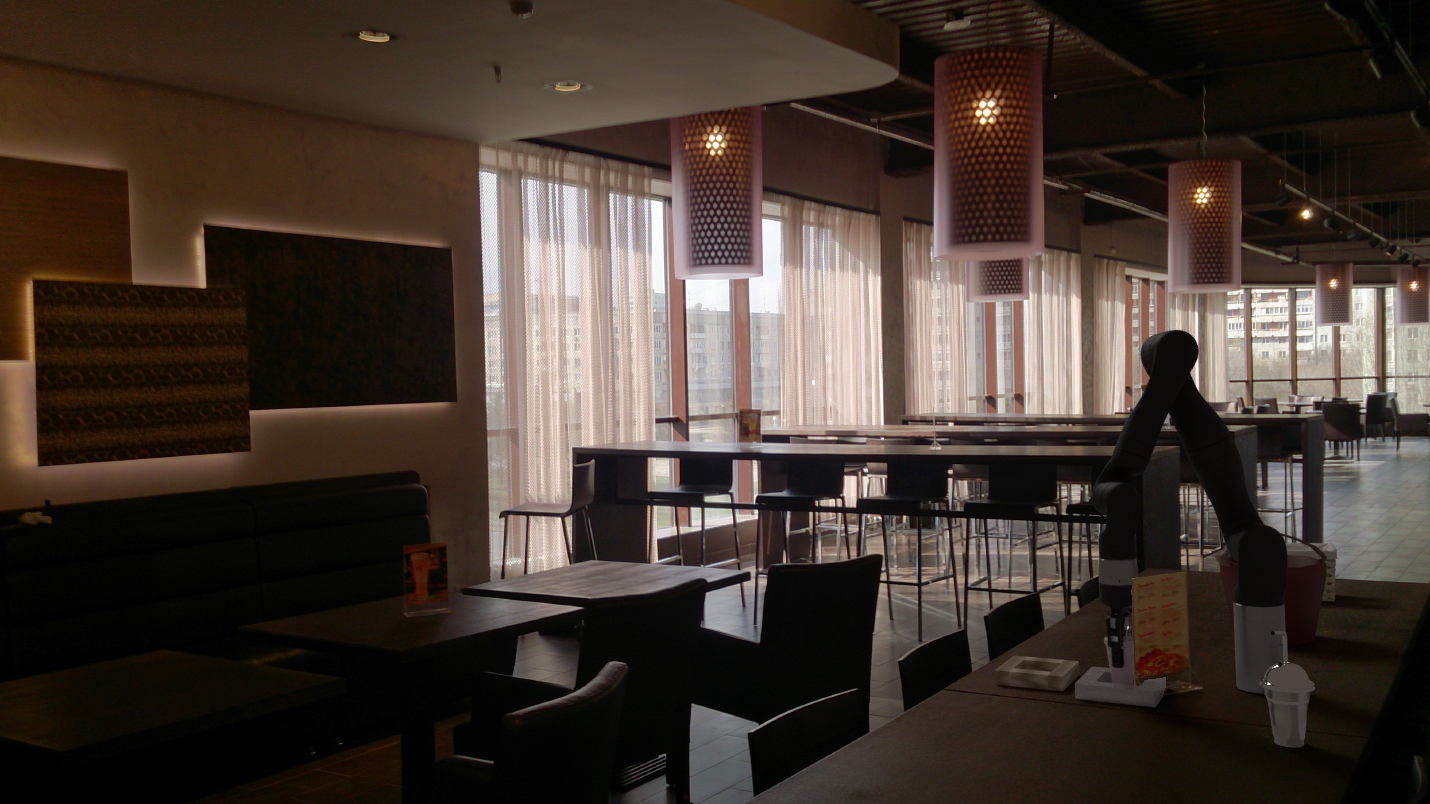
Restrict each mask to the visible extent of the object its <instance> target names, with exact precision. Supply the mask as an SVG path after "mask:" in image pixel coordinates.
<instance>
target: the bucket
mask: <svg viewBox="0 0 1430 804" xmlns="http://www.w3.org/2000/svg"><path fill="white" fill-rule="evenodd" d="M1280 533H1281V532H1280ZM1281 534H1282V536H1283V538H1286V539H1287V538H1288V539H1291V540H1294V541H1296V542H1297V543H1302V544H1305V545H1307V546H1309V547H1311V548H1312V549H1313V550H1314V551H1315V552H1316V553H1317V554H1318V555H1319V556H1320V558H1319V559H1315V558H1312V557H1309V556H1296V555H1287V562H1288V573H1287V590H1286V593H1285V596H1284V607H1285V632H1286V635H1287V646H1300V645H1303V644H1307V643H1312V642H1315V640H1316V635H1317V631H1318V630H1317V629H1318V624H1319V619H1320V615H1321V613H1320V612H1321V608H1322V602H1323V601H1322V598H1323V593H1324V587H1325V582H1326V576H1327V572H1326V563H1325V561H1326V559H1327V556H1326V555H1325V554H1324V553H1323V552H1322V551H1321V550H1320V549H1319V548H1317V547H1316V546H1315V545H1312V544H1310V543H1311V542H1307V541H1305V540H1304V539H1301V538H1297V537H1295V536H1291V535H1289V534H1286V533H1283V532H1282V533H1281ZM1224 544H1225V543H1224ZM1214 558H1215V559H1216V561H1217V563H1218V564H1219V574H1220V578H1221V579H1220V580H1221V582H1222V583H1221V584H1222V587H1223V592H1224V595H1225V599H1226V602H1227V608H1228V611H1229V616H1230V620H1231V624H1232V628H1233V629H1234V608H1233V602H1234V601H1233V589H1234V588H1235V587H1236V586H1237V583H1238V562H1237V561H1236V560H1234V559H1233V557H1232V556H1231V555H1230V553H1229V551H1228V549H1227V547H1226V544H1225V545H1224V546H1223V549H1221V550H1218V552H1217V553H1215V554H1214Z"/></svg>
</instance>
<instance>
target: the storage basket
mask: <svg viewBox="0 0 1430 804" xmlns="http://www.w3.org/2000/svg"><path fill="white" fill-rule="evenodd" d="M1309 543H1310V544H1312V545H1315V546H1316V547H1317V548H1319V549H1320V550H1321V551H1322V552H1323V553H1324V554H1325V555H1326V556H1327V559H1326V561H1325V563H1326V572H1327V576H1326V582H1325V587H1324V593H1323V598H1322V602H1335V601H1336V569H1337V568H1336V567H1337V562H1336V561H1337V560H1338V554H1337V553H1338V551H1337V548H1336V546H1335V545H1334V544H1333V543H1332V542H1326V543H1324V542H1323V543H1318V542H1309ZM1286 547H1287V555H1296V556H1309V557H1312V558H1315V559H1319V558H1320V556H1319V555H1318V554H1317V553H1316V552H1315V551H1314V550H1313V549H1312V548H1311V547H1309V546H1307V545H1305V544H1302V543H1300V542H1286Z"/></svg>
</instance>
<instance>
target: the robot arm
mask: <svg viewBox="0 0 1430 804" xmlns="http://www.w3.org/2000/svg"><path fill="white" fill-rule="evenodd" d="M1199 352H1200V348H1199V344H1198V342H1197V340H1196V338H1195V337H1194V336H1193V335H1192V334H1191V333H1190V332H1187V331H1185V330H1182V329H1171V330H1166V331H1163V332H1159V333H1156V334H1155V333H1154V334H1153V335H1150V336H1148V338H1146V339H1145V340H1144V342H1142V345H1141V348H1140V354H1139V355H1140V360H1141V364H1142V367H1143V368H1144V370H1145V373H1147V375H1148V377H1149V378H1148V380H1147V381H1148V382H1147V383H1146V386H1145V388H1144V390H1143V393H1142V394H1141V397H1140V398H1139V400H1138V402H1137V403H1136V404H1135V406H1134V408H1133V410H1131V413H1130V414H1129V416H1128V417H1127V419H1126V421H1125V423H1123V426H1122V428H1121V431H1120V433H1119V436H1118V438H1117V441H1116V444H1115V446H1114V448H1113V451H1112V455H1111V457H1110V459H1109V461H1108V462H1107V463H1106V465H1105V466H1104V467H1103V469H1102V471H1101V472H1100V474H1099V475H1098V477H1097V479H1096V481H1095V483H1094V486H1093V488H1092V492H1091V503H1092V505H1093V508H1095V510H1096V511H1097V512H1098V513H1100V514H1103V515H1106V517H1105V518H1106V520H1105V521H1106V522H1105V528H1103V529H1102V530H1100V532H1099V533H1098V558H1099V559H1098V568H1097V569H1098V591H1099V592H1098V593H1099V595H1098V596H1099V603H1100V604H1101V605H1103V606H1108V607H1110V613H1108V614H1107V617H1106V618H1105V623H1106V633H1107V635H1106V637H1107V638H1108V647H1110V648H1112V649H1111V651H1112V666H1113V667H1115V668H1123V667H1124V639H1125V638H1127V636H1131V637H1133V636H1132V607H1133V606H1132V595H1131V589H1132V580H1131V579H1132V578H1135V577H1138V578H1139V568H1138V567H1139V566H1138V563H1137V545H1136V534H1137V532H1138V531H1137V530H1138V527H1139V521H1140V520H1139V519H1140V513H1141V499H1140V495H1139V492H1138V491H1137V489H1136V488H1135V487H1134V486H1133V485H1132V483H1133V482H1134V480H1135V478H1136V477H1137V476H1139V475H1142V474H1143V473H1145V472H1146V470H1147V467H1148V466H1149V463H1150V461H1151V458H1152V455H1153V452H1154V450H1155V447H1156V444H1157V442H1158V440H1159V436H1160V434H1161V431H1162V429H1163V426H1164V424H1165V422H1166V420H1167V417H1168V415H1169V416H1170V420H1171V422H1172V424H1173V427H1174V428H1175V431H1176V433H1177V435H1178V438H1179V439H1180V442H1181V445H1182V448H1183V450H1184V452H1185V454H1186V456H1187V458H1188V461H1189V462H1190V465H1191V467H1192V469H1193V471H1194V473H1195V475H1196V477H1197V479H1198V481H1199V483H1200V485H1201V487H1202V489H1203V491H1204V493H1205V495H1206V496H1207V498H1208V500H1209V502H1210V504H1211V506H1212V508H1213V510H1214V514H1215V515H1216V518H1217V522H1218V525H1219V528H1220V531H1221V534H1222V537H1223V540H1224V544H1226V547H1227V549H1228V551H1229V553H1230V554H1229V555H1231V556H1232V557H1233V559H1234V560H1236V561H1237V562H1238V583H1237V586H1236V587H1235V588H1234V589H1233V601H1234V602H1233V608H1234V628H1233V632H1234V655H1235V656H1234V659H1235V662H1234V663H1235V679H1236V680H1235V681H1236V682H1235V683H1236V685H1235V686H1236V687H1237V688H1236V689H1238V690H1240V691H1244V692H1248V693H1253V694H1261V695H1265V689H1264V688H1263V687H1261V686H1260V685H1259V683H1260V679H1261V678H1262V677H1264V675H1265V673H1266V671H1267V669H1268V668H1269V667H1270V666H1271V665H1273V664H1275V663H1277V662H1283V638H1282V635H1271V632H1272V631H1285V607H1284V596H1285V593H1286V590H1287V573H1288V562H1287V547H1286V543H1287V542H1286V540H1285V537H1283V536H1282V534H1281V532H1280V531H1279V530H1277V528H1275V527H1273V526H1271V525H1268V524H1265V523H1264V522H1263V520H1262V519H1261V517H1260V515H1259V513H1258V512H1257V509H1256V507H1255V506H1254V504H1253V502H1252V500H1251V498H1250V495H1249V492H1248V490H1247V485H1246V477H1245V471H1244V470H1245V469H1244V465H1243V460H1242V458H1241V457H1242V456H1241V454H1240V451H1239V449H1238V447H1237V444H1236V441H1234V438H1233V436H1232V434H1231V431H1230V429H1229V428H1228V426H1227V424H1226V422H1225V421H1224V420H1223V419H1222V418H1221V417H1220V415H1219V414H1218V412H1217V411H1216V410H1215V409H1214V408H1213V407H1212V406H1211V405H1210V404H1209V402H1208V401H1207V400H1206V399H1205V397H1203V395H1202V394H1201V392H1200V391H1199V388H1198V387H1197V386H1196V383H1195V380H1194V379H1193V376H1192V374H1191V372H1192V371H1193V369H1194V367H1195V365H1197V362H1198V359H1199ZM1115 637H1116V638H1118V641H1114V638H1115Z"/></svg>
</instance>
